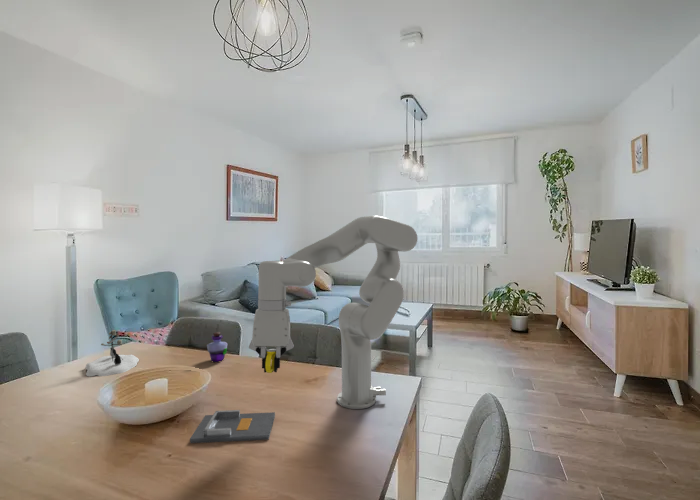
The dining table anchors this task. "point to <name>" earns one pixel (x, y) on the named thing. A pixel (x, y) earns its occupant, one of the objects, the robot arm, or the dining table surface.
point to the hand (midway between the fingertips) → (270, 370)
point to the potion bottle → (217, 348)
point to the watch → (268, 365)
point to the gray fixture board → (233, 427)
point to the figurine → (111, 361)
